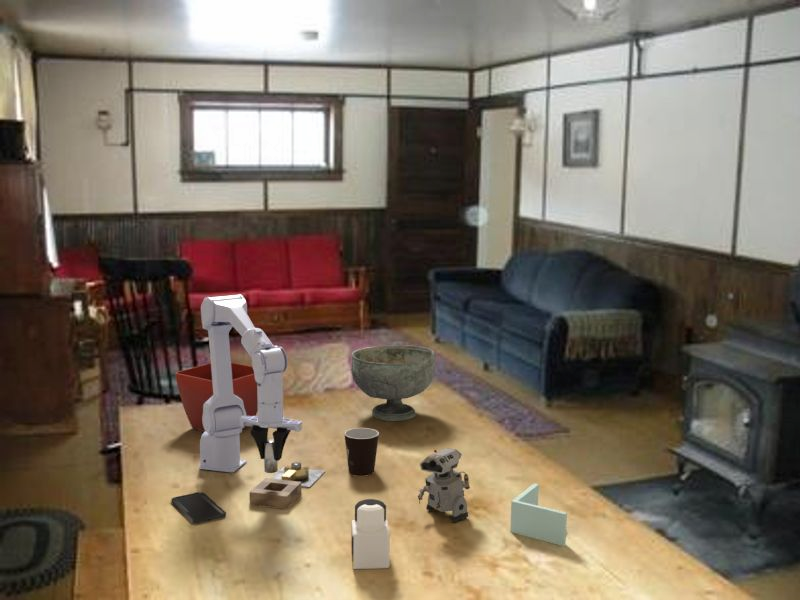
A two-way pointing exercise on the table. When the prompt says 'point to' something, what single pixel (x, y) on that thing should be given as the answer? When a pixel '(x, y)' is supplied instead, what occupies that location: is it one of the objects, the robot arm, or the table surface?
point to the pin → (270, 457)
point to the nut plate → (306, 481)
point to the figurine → (445, 484)
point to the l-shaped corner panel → (537, 518)
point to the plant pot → (199, 389)
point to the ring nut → (295, 472)
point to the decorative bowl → (393, 376)
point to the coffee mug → (361, 450)
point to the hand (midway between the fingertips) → (271, 458)
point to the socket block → (275, 493)
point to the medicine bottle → (370, 536)
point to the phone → (198, 508)
